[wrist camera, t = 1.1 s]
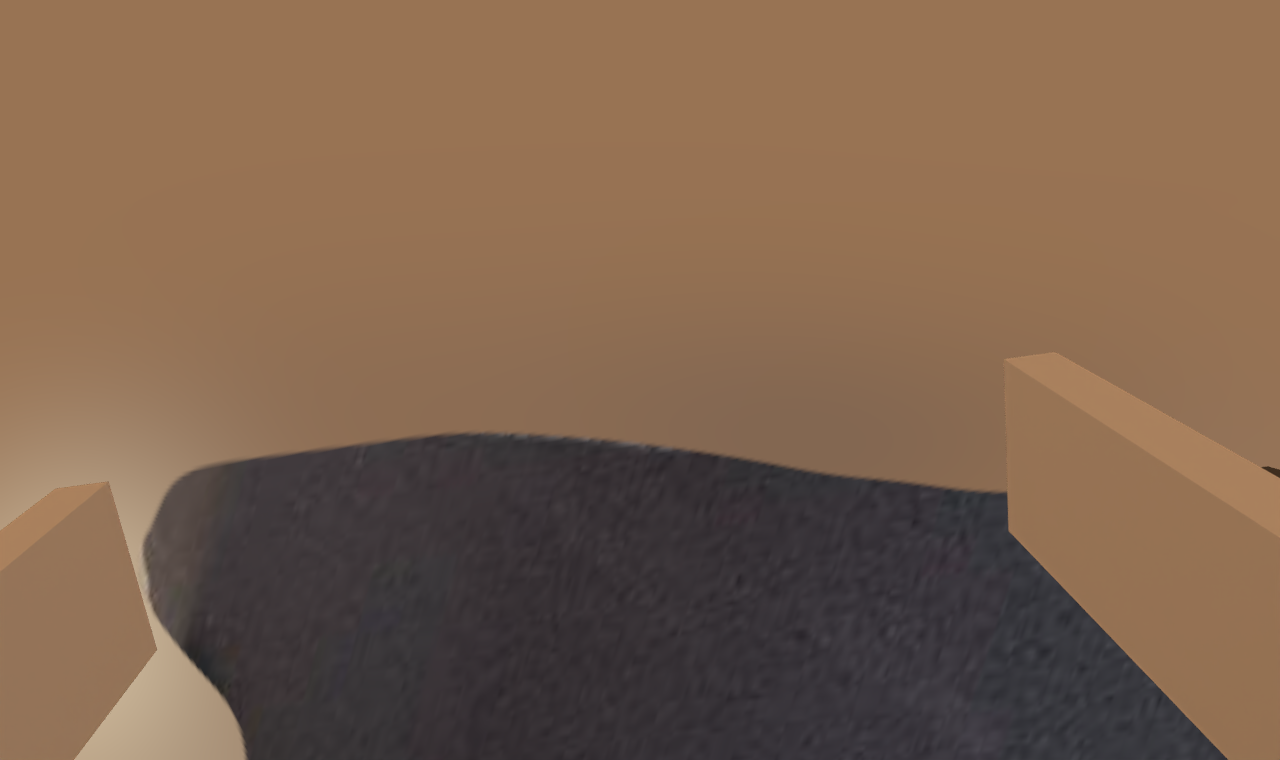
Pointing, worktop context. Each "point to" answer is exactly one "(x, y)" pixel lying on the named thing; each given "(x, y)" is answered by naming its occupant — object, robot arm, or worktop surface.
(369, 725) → the worktop surface
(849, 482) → the worktop surface
